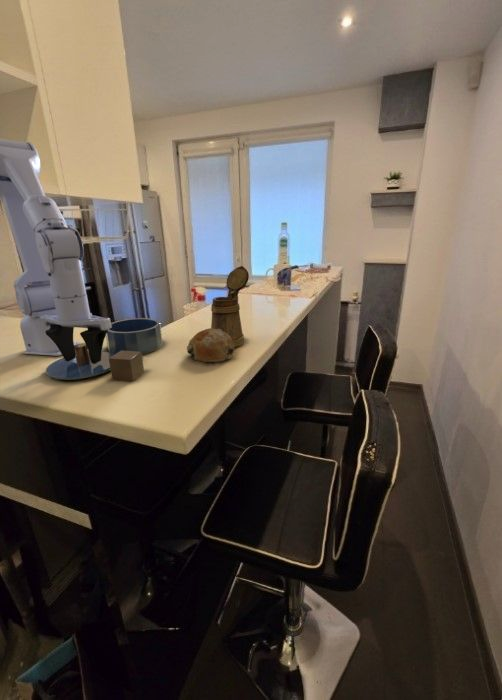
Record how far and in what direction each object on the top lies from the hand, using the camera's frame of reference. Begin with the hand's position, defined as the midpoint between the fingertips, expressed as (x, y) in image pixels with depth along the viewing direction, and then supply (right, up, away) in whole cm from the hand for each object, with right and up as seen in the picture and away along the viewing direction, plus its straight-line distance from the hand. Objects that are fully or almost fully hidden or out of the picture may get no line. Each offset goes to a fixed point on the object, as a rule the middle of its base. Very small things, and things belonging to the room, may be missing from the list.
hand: (83, 360), depth 68 cm
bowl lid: (0, -1, 0) cm, 1 cm away
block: (+10, -3, -3) cm, 11 cm away
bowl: (+6, +3, +13) cm, 15 cm away
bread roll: (+26, +1, +7) cm, 26 cm away
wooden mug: (+30, +5, +17) cm, 35 cm away
